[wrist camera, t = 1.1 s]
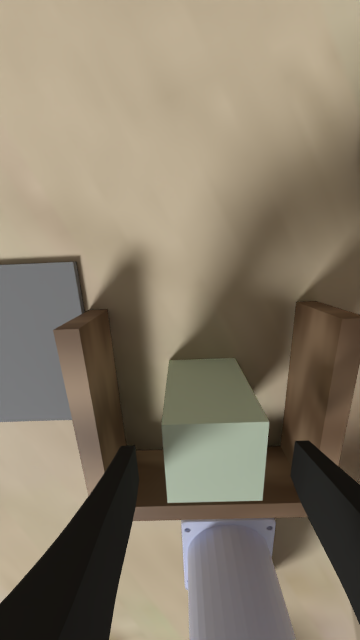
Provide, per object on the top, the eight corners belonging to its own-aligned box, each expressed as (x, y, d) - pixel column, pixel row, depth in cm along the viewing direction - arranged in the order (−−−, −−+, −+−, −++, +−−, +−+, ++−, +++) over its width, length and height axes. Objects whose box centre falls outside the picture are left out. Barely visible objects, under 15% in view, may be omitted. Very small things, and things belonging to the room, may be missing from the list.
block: (233, 412, 16) (262, 500, 10) (172, 414, 16) (167, 502, 10) (234, 357, 15) (269, 421, 9) (169, 360, 15) (161, 424, 9)
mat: (101, 414, 16) (99, 418, 16) (-44, 419, 16) (-50, 423, 16) (75, 261, 13) (72, 261, 13) (-103, 269, 13) (-111, 269, 13)
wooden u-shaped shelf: (294, 457, 17) (327, 516, 13) (113, 462, 17) (94, 521, 13) (315, 301, 14) (368, 318, 10) (88, 310, 14) (52, 329, 10)
